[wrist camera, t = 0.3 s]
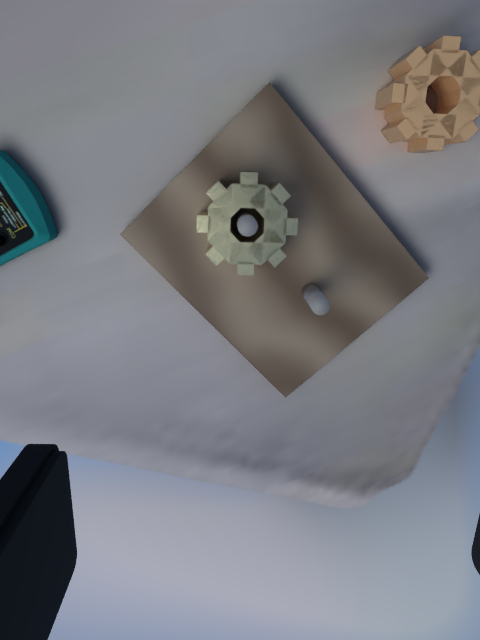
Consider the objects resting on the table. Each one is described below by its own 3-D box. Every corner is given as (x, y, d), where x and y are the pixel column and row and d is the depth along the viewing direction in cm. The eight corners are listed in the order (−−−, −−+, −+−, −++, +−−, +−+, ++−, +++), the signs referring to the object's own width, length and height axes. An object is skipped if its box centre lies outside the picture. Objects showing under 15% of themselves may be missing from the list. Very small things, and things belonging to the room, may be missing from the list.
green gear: (247, 151, 34) (250, 149, 30) (309, 222, 36) (318, 227, 32) (180, 218, 35) (175, 223, 32) (242, 283, 37) (244, 294, 34)
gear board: (267, 86, 34) (276, 68, 28) (421, 274, 39) (455, 291, 33) (124, 232, 37) (105, 242, 31) (283, 389, 42) (292, 423, 36)
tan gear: (432, 27, 33) (456, 10, 30) (486, 105, 35) (514, 98, 32) (356, 100, 35) (371, 91, 31) (412, 172, 36) (431, 171, 33)
